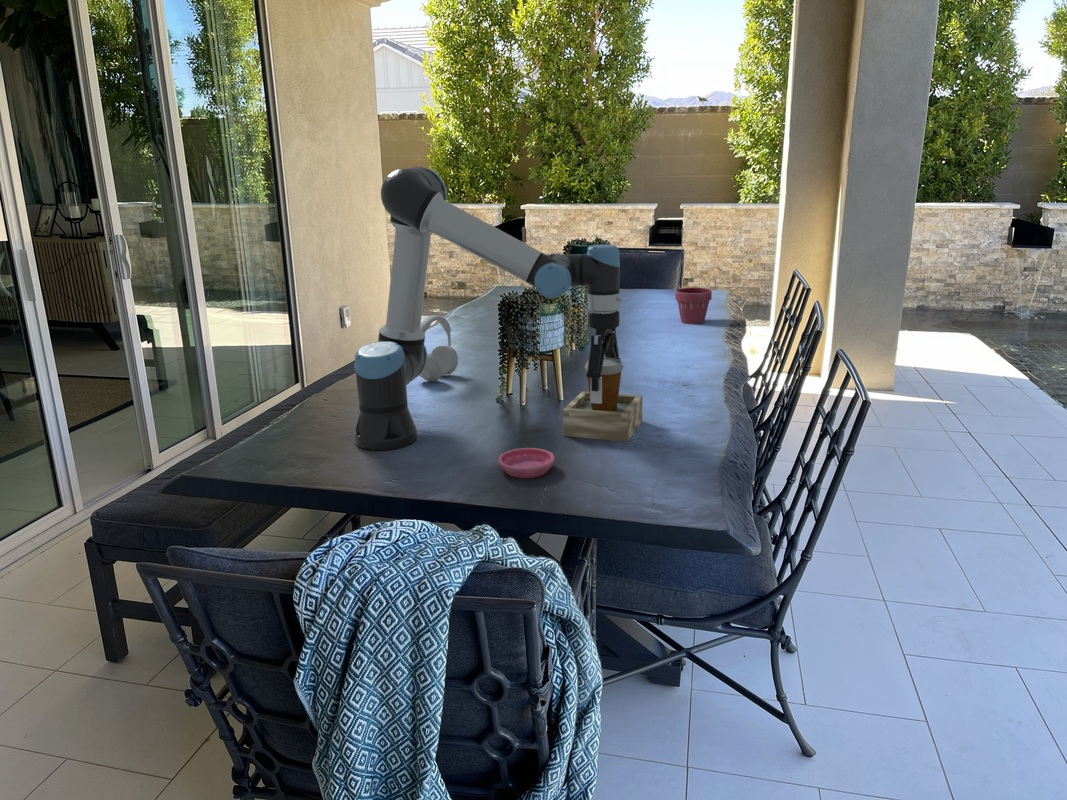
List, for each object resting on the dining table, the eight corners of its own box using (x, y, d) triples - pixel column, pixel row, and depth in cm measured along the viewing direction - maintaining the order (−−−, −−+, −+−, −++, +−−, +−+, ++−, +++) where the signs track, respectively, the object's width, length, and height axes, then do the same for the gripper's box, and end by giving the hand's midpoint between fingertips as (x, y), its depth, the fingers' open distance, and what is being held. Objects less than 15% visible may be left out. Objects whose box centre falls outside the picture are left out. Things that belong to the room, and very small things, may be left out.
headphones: (432, 388, 239) (428, 322, 233) (407, 385, 243) (402, 320, 237) (464, 373, 255) (461, 311, 249) (440, 370, 259) (436, 309, 253)
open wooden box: (627, 442, 191) (627, 415, 189) (563, 435, 196) (563, 409, 194) (642, 421, 205) (642, 395, 203) (582, 415, 211) (582, 391, 209)
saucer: (487, 474, 175) (486, 460, 174) (519, 456, 185) (519, 443, 184) (534, 486, 168) (534, 472, 167) (565, 466, 178) (565, 453, 177)
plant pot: (668, 320, 324) (669, 288, 320) (699, 317, 328) (700, 286, 324) (685, 326, 311) (686, 294, 307) (717, 323, 315) (718, 291, 311)
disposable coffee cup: (577, 408, 200) (576, 362, 196) (603, 400, 206) (603, 355, 202) (604, 416, 193) (604, 368, 189) (631, 408, 199) (631, 361, 195)
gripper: (605, 321, 180) (605, 411, 186) (631, 301, 202) (630, 382, 208) (573, 320, 182) (574, 408, 188) (602, 300, 204) (602, 380, 211)
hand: (603, 395), depth 198 cm, fingers open, 13 cm apart
